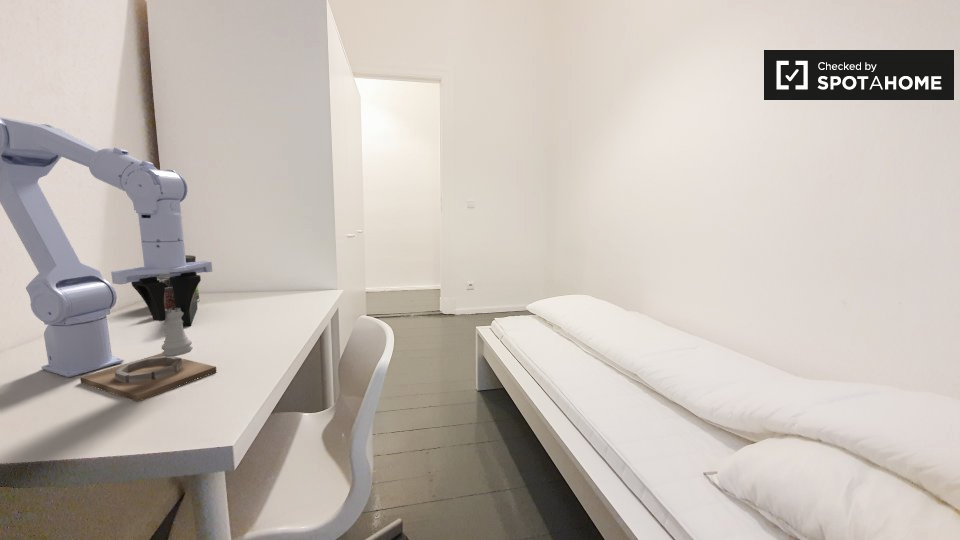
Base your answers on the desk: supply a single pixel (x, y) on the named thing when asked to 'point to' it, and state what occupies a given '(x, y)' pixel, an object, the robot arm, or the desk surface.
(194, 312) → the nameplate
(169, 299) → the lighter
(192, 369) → the socket board
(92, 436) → the desk surface
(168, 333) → the rook chess piece
